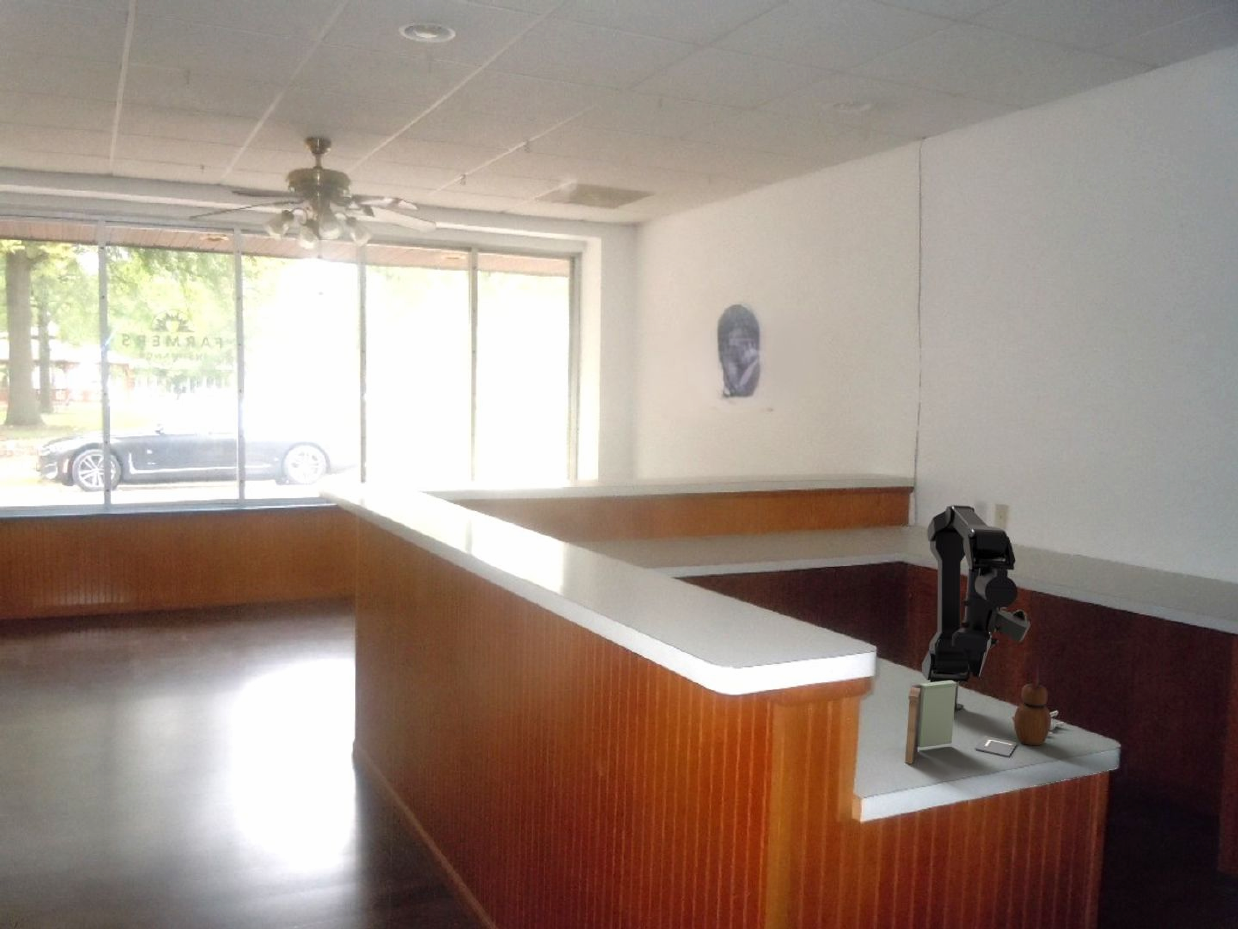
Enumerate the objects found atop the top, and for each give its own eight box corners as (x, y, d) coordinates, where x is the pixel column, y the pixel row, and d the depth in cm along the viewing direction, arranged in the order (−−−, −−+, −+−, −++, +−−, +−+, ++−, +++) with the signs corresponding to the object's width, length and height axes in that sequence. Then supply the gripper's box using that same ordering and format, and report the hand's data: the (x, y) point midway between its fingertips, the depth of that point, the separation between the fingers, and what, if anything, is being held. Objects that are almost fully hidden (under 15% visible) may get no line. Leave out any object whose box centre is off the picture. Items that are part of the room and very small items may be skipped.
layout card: (983, 737, 194) (984, 735, 194) (1016, 744, 191) (1016, 742, 191) (975, 749, 187) (975, 747, 187) (1008, 757, 184) (1009, 755, 184)
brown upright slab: (906, 748, 186) (911, 682, 185) (917, 750, 186) (922, 684, 185) (902, 762, 180) (907, 694, 178) (914, 764, 179) (919, 696, 178)
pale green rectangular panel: (920, 748, 185) (925, 686, 184) (914, 745, 186) (919, 683, 185) (952, 743, 188) (957, 682, 187) (946, 740, 189) (951, 680, 188)
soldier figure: (1072, 738, 199) (1042, 730, 192) (1051, 749, 201) (1020, 741, 194) (1053, 702, 204) (1023, 693, 197) (1033, 713, 206) (1003, 705, 199)
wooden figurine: (1024, 734, 197) (1030, 659, 195) (1053, 743, 193) (1060, 667, 191) (1007, 741, 192) (1013, 665, 191) (1036, 750, 188) (1043, 673, 187)
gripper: (1019, 611, 176) (1012, 698, 177) (1036, 593, 192) (1030, 673, 193) (954, 601, 181) (947, 685, 183) (976, 584, 197) (970, 662, 199)
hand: (976, 676), depth 189 cm, fingers closed
